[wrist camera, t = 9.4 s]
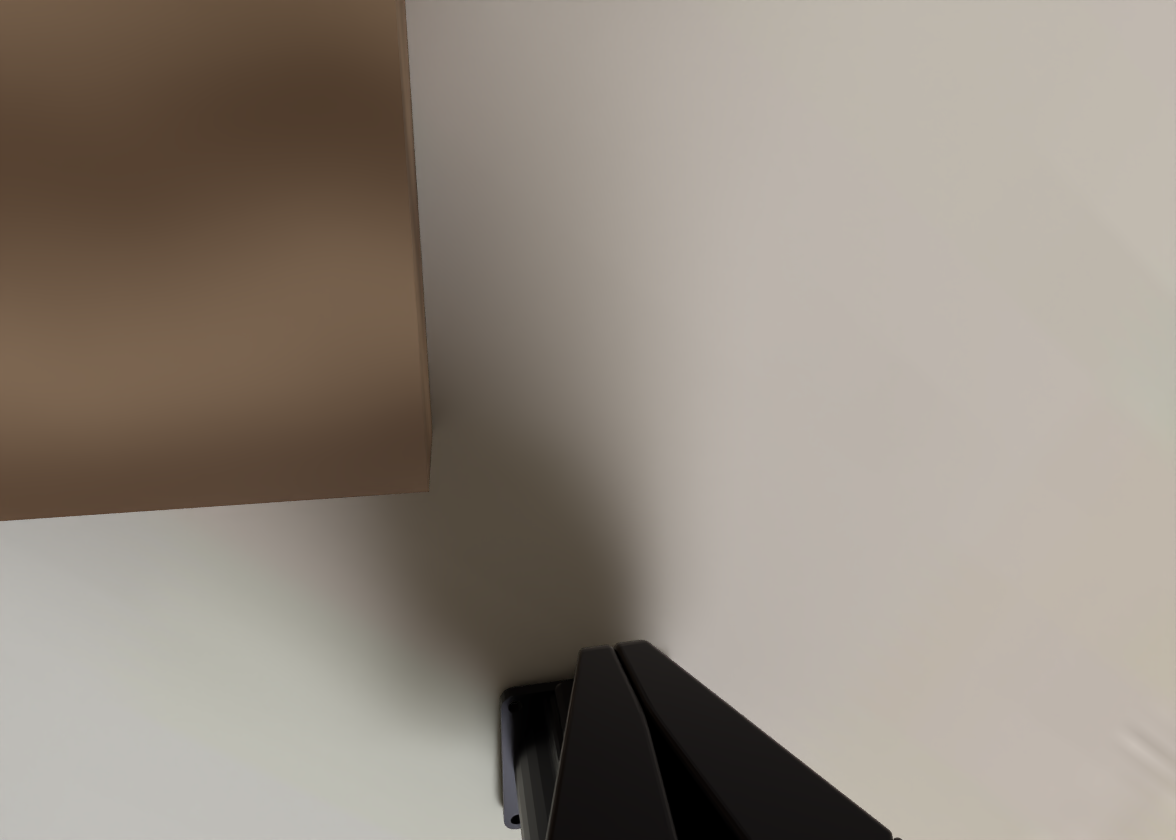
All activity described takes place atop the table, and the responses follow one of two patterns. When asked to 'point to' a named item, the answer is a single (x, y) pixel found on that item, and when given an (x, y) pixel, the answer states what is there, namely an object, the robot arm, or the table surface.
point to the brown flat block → (208, 256)
